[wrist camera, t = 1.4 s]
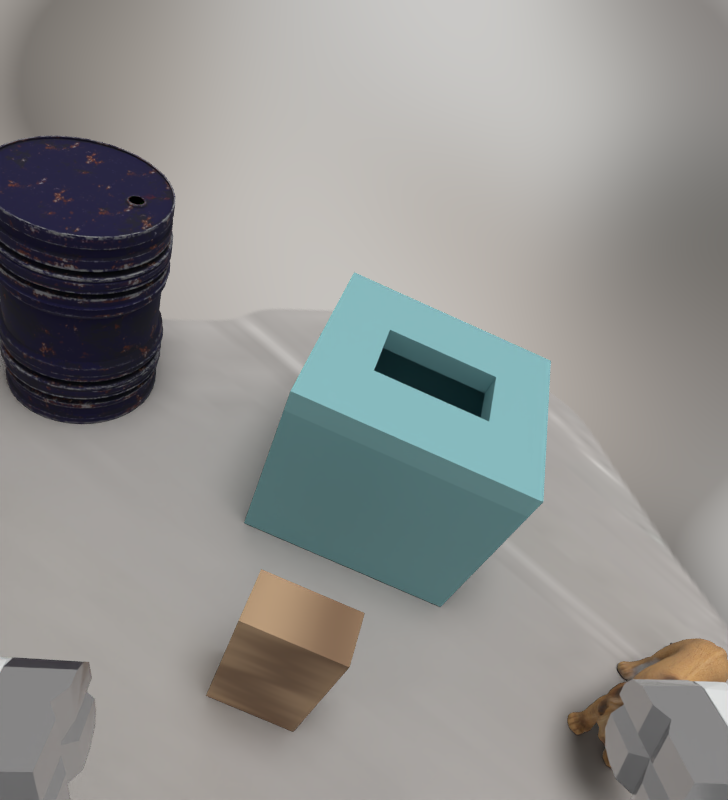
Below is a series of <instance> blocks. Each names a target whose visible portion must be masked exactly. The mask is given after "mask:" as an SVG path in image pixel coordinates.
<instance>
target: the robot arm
mask: <svg viewBox="0 0 728 800" xmlns="http://www.w3.org/2000/svg"><path fill="white" fill-rule="evenodd" d="M91 679H92V676H91V670H90V665H89V662H78V661H61V660H45V659H29V658H13V657H0V800H70V795H69V788H68V783H69V782H70V781H71V780H72V779H73V778H74V777H75V776H76V775H77V774H79V773H80V772H81V771H82V770H83V768H84V765H85V762H86V759H87V756H88V753H89V750H90V747H91V742H92V738H93V733H94V728H95V717H96V707H95V699H94V698H93V697H92V696H91V695H90V694H89V693H87V692H86V691H87V689H88V686H89V684H90V681H91ZM619 695H620V697H621V699H622V701H623V703H624V705H622V706H621V707H619V708H618V709H617V710H615V711H614V712H612V713H611V714H610V717H609V719H608V722H607V725H606V727H605V747H606V751H607V756H608V760H609V763H610V766H611V768H612V771H613V773H614V776H615V778H616V779H617V780H618V781H619V782H620V783H621V784H622V785H623V786H624V787H625V788H626V789H627V790H628V791H629V792H630V793H631V794H632V796H631V800H728V684H726V683H725V682H706V681H689V680H653V679H631V680H630V681H628V682H626V683H625V684H624V686H623V688H622V690H621V692H620V694H619Z"/></svg>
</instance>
